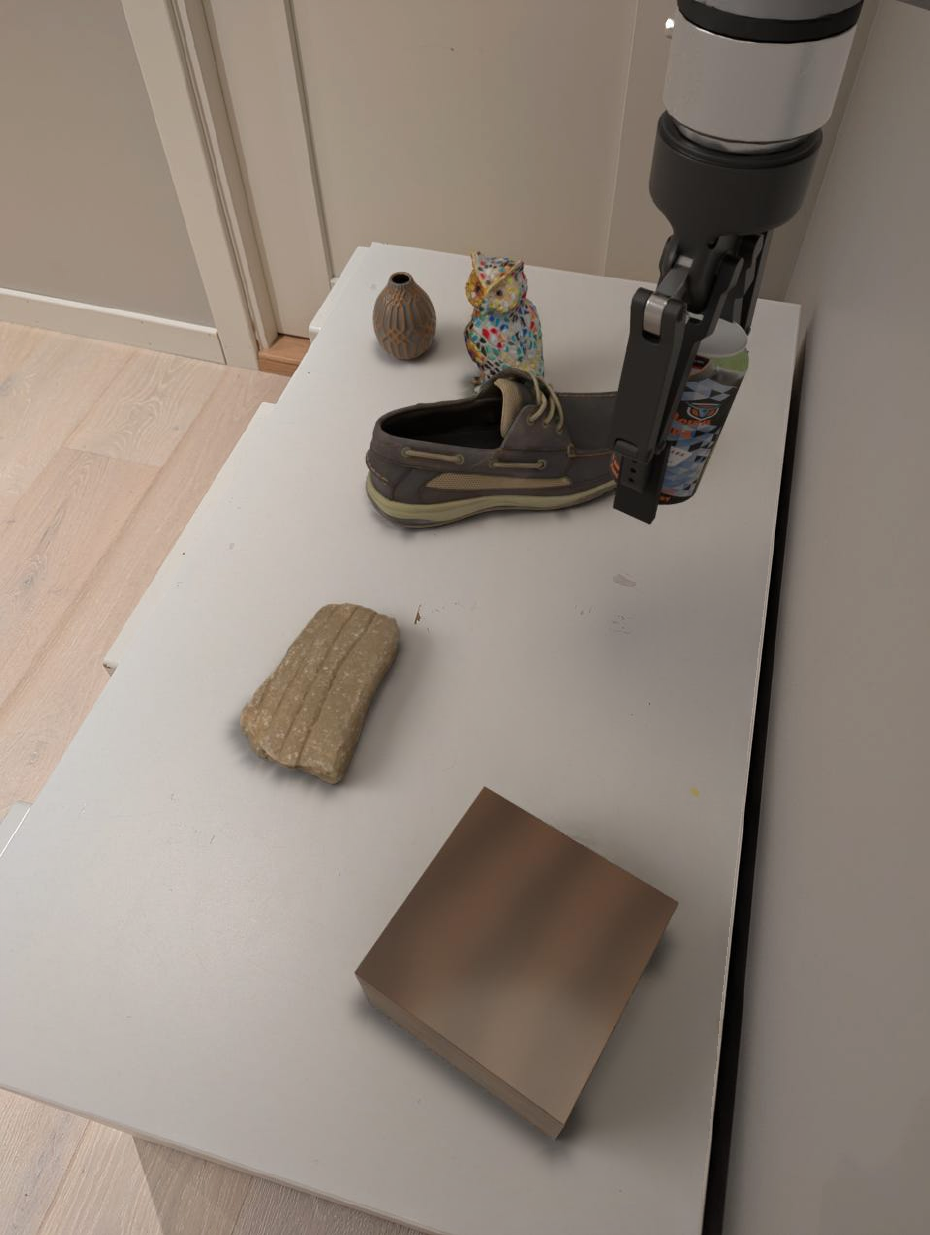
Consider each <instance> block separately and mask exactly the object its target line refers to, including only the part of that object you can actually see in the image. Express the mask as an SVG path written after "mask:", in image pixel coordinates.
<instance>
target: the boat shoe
mask: <svg viewBox="0 0 930 1235" xmlns="http://www.w3.org/2000/svg"><path fill="white" fill-rule="evenodd" d="M617 391H618V390H615V391H614V390H613V391H612V390H611V391H600V392H573V391H572V392H571V391H570V392H569V391H568V392H567V391H566V392H562V391H555V387H554V385H553V384H552V383H550V382H549V383H548V381H547V380H546V379H545V378H544V379H543V378H542V377H540V376H535V375H534V374H533V373H532V372H530V371H529V370H525V369H518V368H507V369H504V370H501V371H500V372H498V373H496V374H495V375H494V376H492V377H491V378H490V379H489V380H488V381H486V382H485V383H484V384H483V385H482V386H481V389H480V391H479V393H478V394H477V395H472V396H467V397H464V398H459V399H452V400H451V399H449V400H441V401H440V400H439V401H435V402H434V401H433V402H418V403H416V404H413V405H412V404H411V405H408V406H403V407H400V408H396V409H393V410H391V411H387V412H386V413H384V414H382V415H380V417H378V418H377V420H376V421H375V423H374V426H373V429H372V435H371V440H370V442H369V448H368V450H367V451H366V453H365V465H366V467H367V469H368V470H369V471H368V473H367V475H366V480H365V492H366V495H367V498H368V500H369V502H370V504H371V505H372V507H373V509H374V510H375V511H376V512H377V513H378V514H379V515H380V517H382V518H384V520H386V521H388V522H389V523H391V524H392V525H395V526H397V527H398V526H399V527H403V528H409V529H410V528H411V529H423V528H424V529H425V528H430V527H431V528H432V527H437V526H442V525H446V524H447V525H448V524H451V523H454V522H457V521H460V520H463V519H465V518H468V517H472V516H474V515H477V514H480V513H484V512H491V511H499V510H500V511H501V510H502V511H503V510H526V509H527V510H531V511H548V510H549V511H550V510H556V509H564V508H568V507H572V506H576V505H580V504H583V503H587V502H589V501H591V500H593V499H596V498H598V497H601V496H602V495H603V494H605V493H606V492H607V493H608V492H610V491H612V490H613V489H616V485H617V484H616V482H615V481H614V479H613V478H612V476H611V473H610V461H611V457H612V454H613V451H611V450H608V449H606V443H607V438H608V430H609V427H610V424H611V419H612V415H613V410H614V405H615V400H616V395H617Z"/></svg>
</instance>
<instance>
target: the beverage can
mask: <svg viewBox="0 0 930 1235" xmlns="http://www.w3.org/2000/svg"><path fill="white" fill-rule="evenodd" d="M688 313H689V314H690V317H693V318H696V319H699V320H702V319H703V316H704V315H701V314H698V315H697V314H693V313H690V312H688ZM747 345H748V336H747V335H746V333H745V331H744V330H743V328H742V327H741V326H740V325H739V324H737V323H736V322H735V321H733V323H730V322H728V321H725V320H723V319H720V318H719V319H718V322H717V325H716V328H715V330H714V332H713V334H712V335H710V336H709V337H707V338H705V339H703V340H701V343H700V346H699V348H698V351H697V354H696V357H695V360H694V363H693V366H692V368H691V371H690V374H689V377H688V380H687V383H686V386H685V388H684V391H683V394H682V397H681V400H680V403H679V406H678V409H677V411H676V414H675V417H674V420H673V423H672V426H671V429H670V431H669V434H668V437H667V440H669V441H671V442H672V446H671V450H670V455H669V459H668V463H667V468H666V472H665V477H664V481H663V485H662V490H661V494H660V499H659V503H658V506H672V505H678V504H682V503H684V502H686V501H688V500H689V499H691V498H693V497H694V495H695V494H696V493H697V491H698V490H699V486H700V484H701V482H702V479H703V477H704V474H705V472H706V469H707V467H708V464H709V462H710V460H711V458H712V455H713V453H714V450H715V447H716V446H717V443H718V441H719V438H720V436H721V434H722V431H723V429H724V427H725V424H726V422H727V419H728V417H729V414H730V412H731V409H732V407H733V405H734V402H735V400H736V397H737V395H738V393H739V390H740V388H741V386H742V383H743V381H744V378H745V376H746V373H747V371H748V369H749V363H750V362H749V361H750V357H749V352H747V351H748V349H747ZM620 461H621V455H620V454H618V453H615V452H613V454H612V457H611V461H610V473H611V476H612V478H613V479H614V481H615V482H616V484H617V479H618V473H619V467H620Z"/></svg>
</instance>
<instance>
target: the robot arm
mask: <svg viewBox="0 0 930 1235" xmlns="http://www.w3.org/2000/svg"><path fill="white" fill-rule="evenodd" d="M896 1H898V2H900V3H904V4H907V5H910V6H914V7H916V8H920V9H922V10H923V9H924V10H926V11H929V12H930V0H896ZM864 3H865V0H676V6H675V11H674V13H672V14H670V15H669V17H668V18H667V20H666V22H665V23H664V30H663V31H664V35H665V37H666V38H667V39H670V40H671V41H670V46H669V52H668V59H667V67H666V73H665V79H664V85H663V86H664V87H663V93H662V104H663V106H664V107H665V110H664V111H663V112H662V113H661V115H660V116H659V118H658V121H657V126H656V130H655V138H654V144H653V145H654V146H653V152H652V158H651V165H650V172H649V179H648V192H649V195H650V198H651V201H652V203H653V204H654V205H655V207H656V208H657V209H658V211H659V212H661V214H662V215H663V216H664V217H665V218H666V220H667V221H668V222H669V224H670V226H671V228H672V231H673V232H672V234H671V235H670V236H668V238H667V239H666V242H665V244H664V246H663V249H662V252H661V256H660V258H659V262H658V270H659V278H658V281H657V284H656V287H655V290H651V289H648V288H645V287H642V286H641V287H638V288H637V289H636V291H635V293H634V294H633V295H632V298H631V302H630V308H629V309H630V311H629V333H628V339H627V344H626V348H625V353H624V357H623V362H622V369H621V372H620V377H619V381H618V385H617V386H618V387H617V390H616V391H617V395H616V400H615V405H614V410H613V415H612V419H611V424H610V427H609V430H608V438H607V443H606V449H608V450H611V451H613V452H615V453H618V454H620V455H621V461H620V467H619V473H618V479H617V485H616V487H615V494H614V498H613V504H612V509H614V510H616V511H619V512H620V513H622V514H625V515H627V516H629V517H632V518H634V519H636V520H639V521H640V522H643V523H645V524H647V525H649V526H650V525H651V524H652V523H653V521H654V520H655V519H656V516H657V511H658V507H659V505H658V503H659V499H660V494H661V490H662V485H663V481H664V477H665V472H666V468H667V463H668V459H669V455H670V450H671V446H672V442H671V441H669V440H667V437H668V434H669V431H670V429H671V426H672V423H673V420H674V417H675V414H676V411H677V409H678V406H679V403H680V400H681V397H682V394H683V391H684V388H685V386H686V383H687V380H688V377H689V374H690V371H691V368H692V366H693V363H694V360H695V357H696V354H697V351H698V348H699V346H700V343H701V340H703V339H705V338H707V337H709V336H710V335H712V334H713V332H714V330H715V328H716V325H717V322H718V319H719V318H720V319H723V320H725V321H728V322H730V323H733V321H735V322H736V323H737V324H739V325H740V326H741V327H742V328H743V330H744V331H745V333H746V335H747V337H749V335H750V334H751V330H752V328H751V326H752V323H753V320H754V315H755V312H756V306H757V303H758V298H759V294H760V289H761V286H762V282H763V278H764V273H765V268H766V265H767V261H768V258H769V254H770V249H771V244H772V240H773V236H774V231H775V229H778V228H779V227H781V226H783V225H786V224H787V223H788V222H790V221H791V220H792V219H793V218H795V216H797V214H798V213H799V211H800V210H801V209H802V207H803V205H804V203H805V200H806V196H807V194H808V191H809V187H810V183H811V180H812V176H813V174H814V171H815V167H816V163H817V160H818V158H819V153H820V150H821V147H822V144H823V140H824V139H823V138H824V135H823V134H824V133H823V130H822V128H821V127H823V126H824V125H826V124H827V122H828V121H829V120H830V118H831V117H832V115H833V111H834V107H835V104H836V101H837V97H838V94H839V90H840V87H841V83H842V80H843V76H844V73H845V69H846V65H847V62H848V58H849V55H850V53H851V49H852V45H853V42H854V38H855V34H856V31H857V28H858V25H859V22H860V21H859V20H860V16H861V13H862V9H863V7H864V6H863V5H864ZM688 312H690V313H693V314H697V315H698V314H701V315H704V316H703V319H702V320H699V319H696V318H693V317H690V314H689V313H688ZM747 352H748V353H749V351H748V350H747Z"/></svg>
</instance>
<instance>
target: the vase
mask: <svg viewBox="0 0 930 1235" xmlns="http://www.w3.org/2000/svg"><path fill="white" fill-rule="evenodd" d="M373 305H374V306H373V310H372V327H373V332H374V336H375V338H376V340H377V343H378V344H379V345H380V347H381V348H382V350H383V351H385V352H386V354H388V355H390V356H391V357H393V358H396V359H397V360H407V361H408V360H413V359H416V358H418V357H421V355H423V354H424V353H425V352H427V351H428V349H429V348H430V346H431V345H432V343H433V341H434V339H435V336H436V331H437V314H436V309H435V306H434V304H433V301H432V299H431V297H430V295H429V294H428V293H427V292H426V291H425V290H424V289H423V288H422V287H421V285H419V284H418V283H417V282H416V280H415V279H414V278H413V275H412V274H411V273H409V272H406V271H398V272H394V273H392V274H391V275H390V276H389V279H388V281H387V284H386V285H385V286H384V287H383V289H381V291H380V293H379V294H378V296H377V297H376V300H375V301H374V304H373Z"/></svg>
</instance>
